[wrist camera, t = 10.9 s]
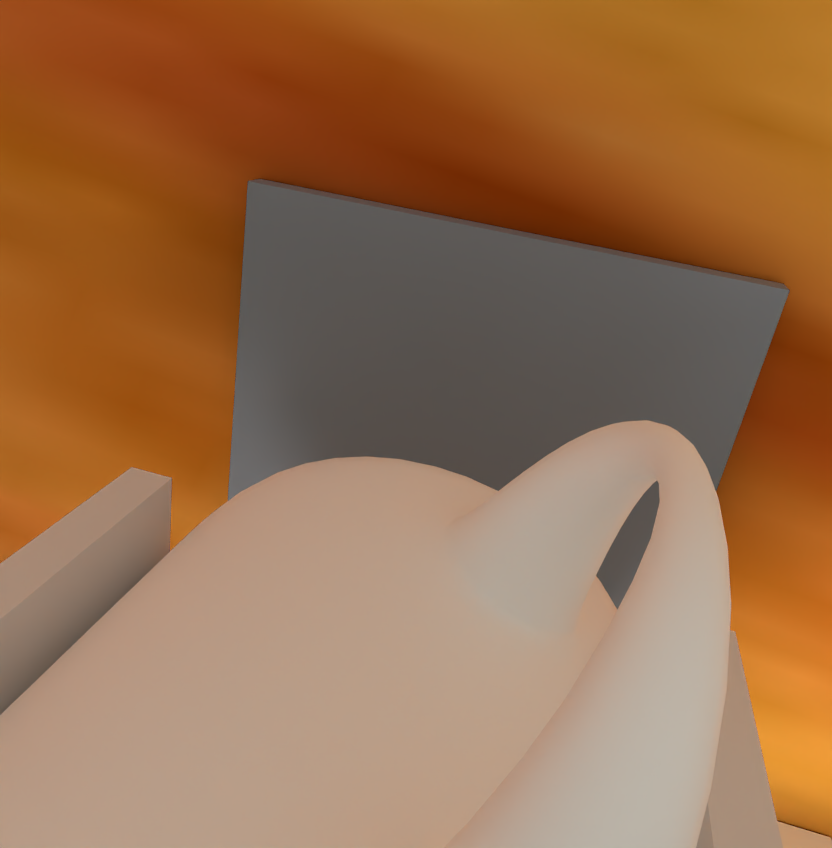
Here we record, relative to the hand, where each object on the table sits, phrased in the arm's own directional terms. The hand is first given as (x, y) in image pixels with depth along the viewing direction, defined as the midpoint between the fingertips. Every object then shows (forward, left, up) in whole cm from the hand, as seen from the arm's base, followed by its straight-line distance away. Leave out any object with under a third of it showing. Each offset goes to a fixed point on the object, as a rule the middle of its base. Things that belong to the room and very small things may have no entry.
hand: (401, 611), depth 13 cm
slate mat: (0, 0, -6) cm, 6 cm away
